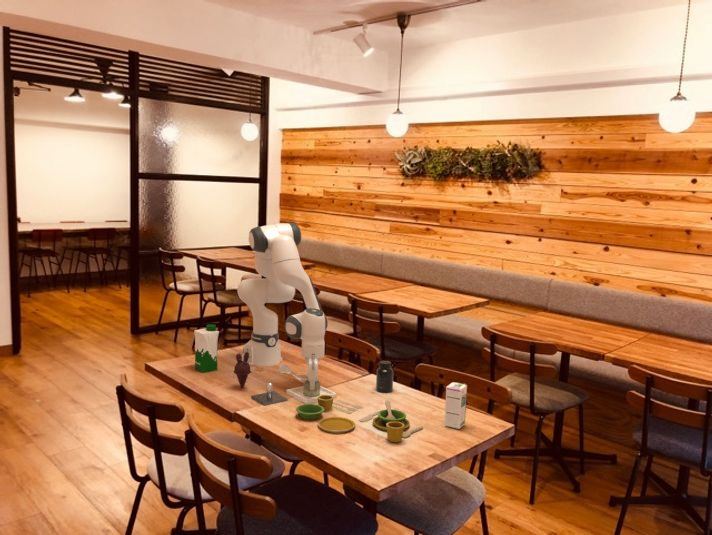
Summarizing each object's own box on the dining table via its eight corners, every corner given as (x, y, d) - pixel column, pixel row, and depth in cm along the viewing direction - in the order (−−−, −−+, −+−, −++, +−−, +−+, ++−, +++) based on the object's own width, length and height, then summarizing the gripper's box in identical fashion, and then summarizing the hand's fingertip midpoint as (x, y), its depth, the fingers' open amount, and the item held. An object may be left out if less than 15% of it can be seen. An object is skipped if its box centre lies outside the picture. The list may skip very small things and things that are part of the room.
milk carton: (220, 372, 260) (221, 326, 258) (201, 375, 254) (201, 329, 252) (210, 367, 267) (210, 322, 264) (191, 370, 261) (191, 325, 258)
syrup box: (459, 429, 208) (462, 388, 206) (443, 425, 211) (446, 385, 209) (465, 424, 213) (467, 384, 211) (449, 420, 216) (451, 381, 214)
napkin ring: (300, 395, 234) (301, 382, 233) (309, 390, 239) (309, 378, 239) (314, 398, 231) (314, 385, 231) (322, 393, 237) (322, 381, 236)
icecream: (239, 393, 234) (240, 356, 233) (229, 388, 240) (230, 351, 238) (254, 389, 239) (255, 353, 237) (244, 385, 245) (244, 349, 243)
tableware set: (428, 429, 208) (429, 412, 208) (380, 454, 187) (381, 435, 186) (338, 399, 234) (338, 384, 233) (287, 418, 212) (287, 401, 212)
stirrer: (314, 384, 250) (314, 373, 249) (308, 386, 247) (308, 375, 247) (283, 373, 263) (283, 362, 263) (276, 374, 261) (277, 364, 260)
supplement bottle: (380, 386, 250) (382, 358, 249) (395, 390, 247) (396, 361, 245) (372, 391, 244) (374, 362, 243) (387, 394, 241) (389, 365, 239)
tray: (286, 394, 236) (286, 389, 236) (315, 388, 245) (316, 383, 245) (306, 404, 225) (306, 400, 225) (336, 398, 234) (336, 393, 234)
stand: (251, 398, 230) (251, 381, 229) (273, 393, 236) (274, 377, 235) (264, 406, 222) (264, 389, 221) (287, 401, 228) (288, 384, 228)
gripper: (322, 358, 223) (320, 394, 225) (320, 344, 243) (319, 377, 245) (305, 358, 222) (303, 394, 224) (304, 344, 243) (303, 377, 244)
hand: (311, 385), depth 235 cm, fingers open, 8 cm apart
